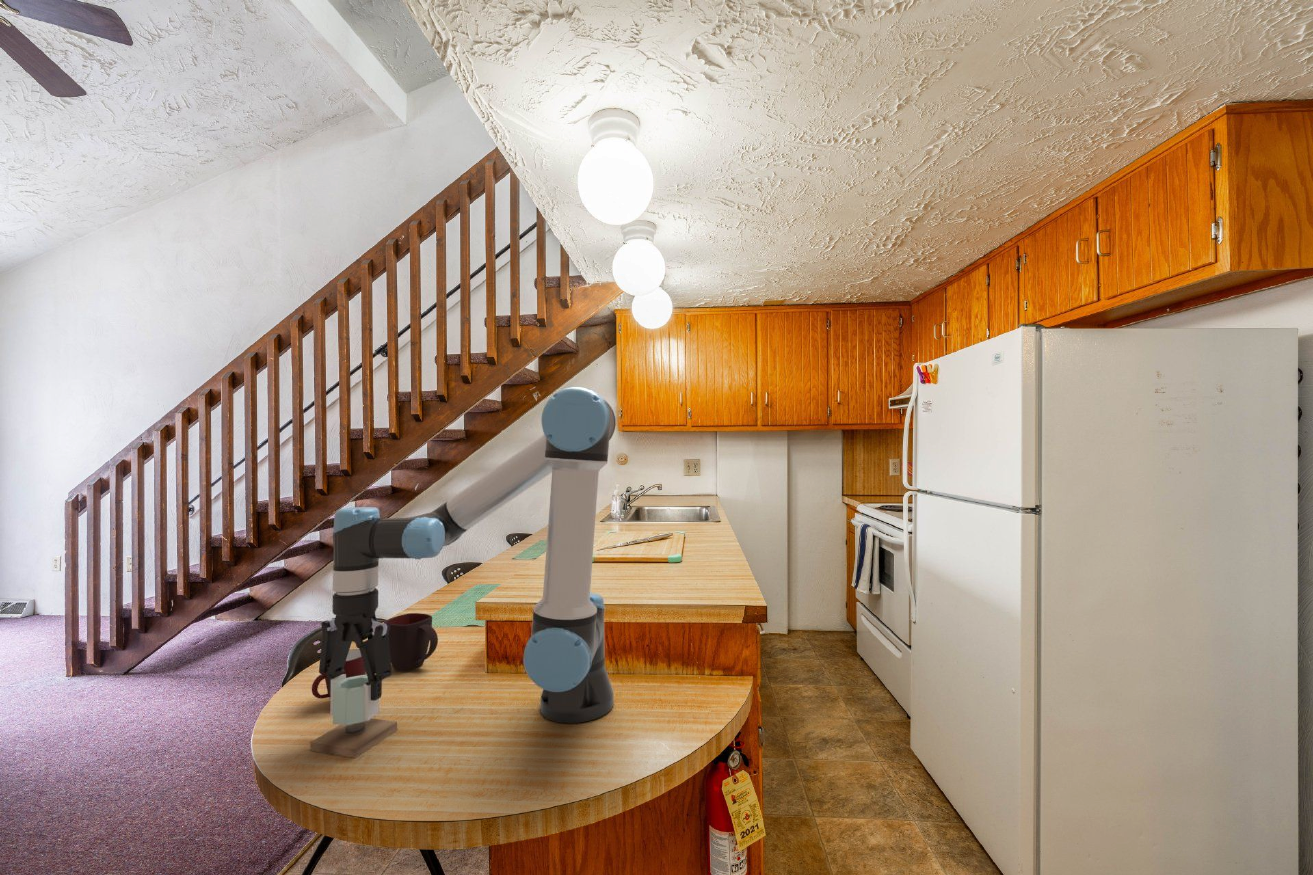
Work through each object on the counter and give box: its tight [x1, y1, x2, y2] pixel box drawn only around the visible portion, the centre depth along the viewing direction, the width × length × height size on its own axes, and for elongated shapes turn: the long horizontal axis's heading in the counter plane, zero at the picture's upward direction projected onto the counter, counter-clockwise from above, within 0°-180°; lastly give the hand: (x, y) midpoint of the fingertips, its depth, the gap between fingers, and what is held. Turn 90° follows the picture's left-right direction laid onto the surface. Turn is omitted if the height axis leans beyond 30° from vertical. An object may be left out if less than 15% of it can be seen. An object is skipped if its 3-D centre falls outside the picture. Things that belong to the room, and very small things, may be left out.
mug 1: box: [311, 648, 366, 700], centre depth 114 cm, size 10×8×10 cm
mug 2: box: [383, 612, 439, 673], centre depth 133 cm, size 10×14×12 cm
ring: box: [332, 674, 368, 726], centre depth 99 cm, size 7×7×6 cm
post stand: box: [309, 717, 398, 759], centre depth 99 cm, size 10×10×9 cm
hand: (354, 714), depth 99 cm, fingers closed on ring, 7 cm apart
